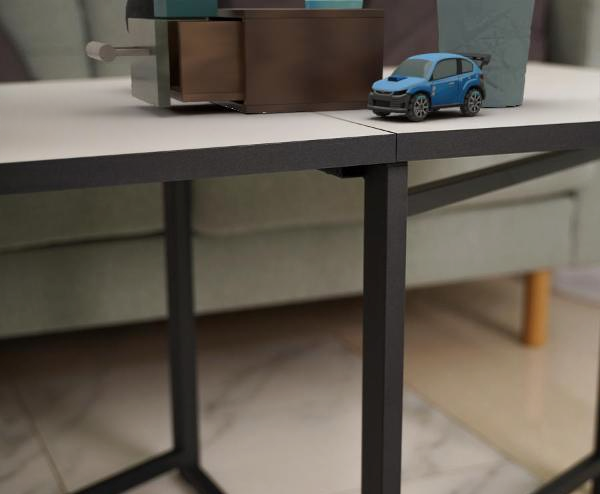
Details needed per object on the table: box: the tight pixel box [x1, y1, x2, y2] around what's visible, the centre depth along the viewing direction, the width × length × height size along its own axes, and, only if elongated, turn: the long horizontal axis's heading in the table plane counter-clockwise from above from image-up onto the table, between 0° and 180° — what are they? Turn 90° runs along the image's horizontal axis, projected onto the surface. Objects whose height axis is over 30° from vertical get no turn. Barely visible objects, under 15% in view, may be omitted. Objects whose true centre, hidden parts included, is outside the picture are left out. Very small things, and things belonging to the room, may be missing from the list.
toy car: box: [366, 52, 491, 122], centre depth 85 cm, size 6×12×6 cm, turn 129°
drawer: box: [85, 18, 244, 108], centre depth 90 cm, size 18×11×8 cm, turn 112°
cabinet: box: [206, 8, 386, 114], centre depth 94 cm, size 15×13×10 cm
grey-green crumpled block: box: [436, 0, 536, 108], centre depth 95 cm, size 10×10×12 cm
